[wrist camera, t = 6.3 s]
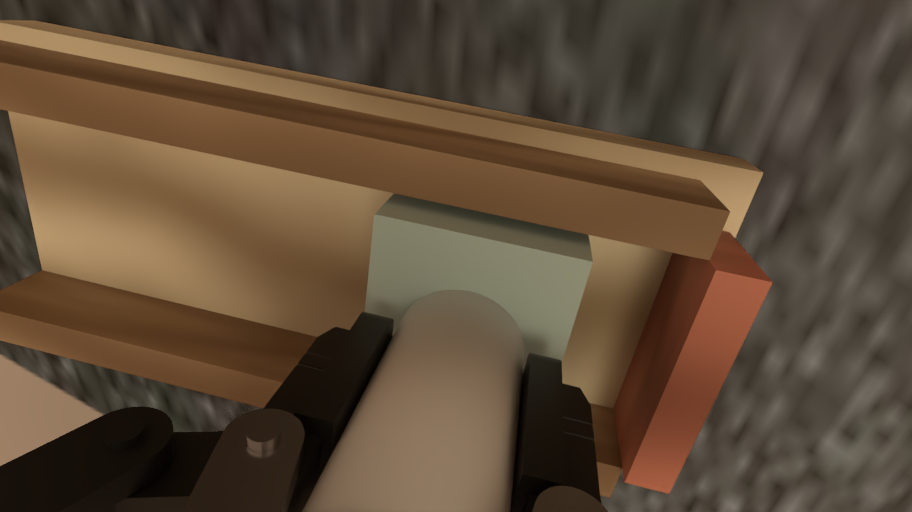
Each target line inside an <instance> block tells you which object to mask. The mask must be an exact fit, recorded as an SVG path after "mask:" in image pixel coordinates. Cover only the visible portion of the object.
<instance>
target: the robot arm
mask: <svg viewBox="0 0 912 512" xmlns="http://www.w3.org/2000/svg"><path fill="white" fill-rule="evenodd" d="M393 327H394V320H393V319H392V318H388V317H384V316H380V315H376V314H372V313H368V312H364V311H363V312H362V313H361V314H360V315H359V317H358V318H357V320H356V321H355V323H354V324H353V326H352V327H351V329H350V330H347V329H343V328H339V327H334V328H332V329H330V330H329V331H327V332H325V333H323V334H322V335H320V336H318V337H317V338H316V340H315V341H314V342H313V344H312V345H311V346H310V348H309V349H308V350H307V353H306V354H304V355H303V357H302V358H301V359H300V361H299V362H298V365H296V366H295V367H294V369H293V370H292V371H291V373H290V374H289V375H288V377H287V378H286V379H285V381H284V382H283V383H282V384H281V386H280V387H279V388H278V390H277V391H276V392H275V394H274V395H273V396H272V398H271V399H270V400H269V402H268V403H267V404H266V406H265V407H264V408H263V409H258V410H254V411H250V412H247V413H245V414H243V415H241V416H239V417H237V418H236V419H234V420H233V421H232V422H231V423H230V424H229V425H228V426H227V427H226V428H225V430H224V431H218V432H173V425H172V421H171V419H170V418H169V417H168V416H167V414H165V413H164V412H162V411H160V410H158V409H154V408H150V407H130V408H124V409H120V410H116V411H113V412H110V413H108V414H106V415H103V416H101V417H99V418H97V419H95V420H93V421H91V422H89V423H87V424H85V425H83V426H81V427H79V428H77V429H75V430H73V431H71V432H69V433H67V434H65V435H63V436H61V437H59V438H57V439H55V440H53V441H51V442H48V443H46V444H44V445H42V446H40V447H39V448H36V449H35V450H32V451H30V452H28V453H26V454H24V455H22V456H20V457H18V458H16V459H14V460H12V461H10V462H8V463H6V464H4V465H2V466H0V512H302V510H303V508H304V507H305V505H306V503H307V501H308V499H309V497H310V495H311V493H312V491H313V489H314V487H315V485H316V483H317V481H318V479H319V478H320V476H321V474H322V472H323V470H324V468H325V466H326V464H327V462H328V460H329V458H330V456H331V454H332V452H333V451H334V449H335V447H336V445H337V443H338V441H339V439H340V437H341V435H342V433H343V431H344V429H345V427H346V425H347V423H348V422H349V420H350V418H351V416H352V414H353V412H354V410H355V408H356V406H357V404H358V402H359V400H360V398H361V396H362V395H363V393H364V391H365V389H366V387H367V385H368V383H369V381H370V379H371V377H372V375H373V373H374V371H375V369H376V367H377V366H378V364H379V362H380V360H381V358H382V356H383V354H384V352H385V350H386V348H387V346H388V344H389V342H390V340H391V338H392V334H393ZM592 425H593V421H592V411H591V405H590V403H589V402H588V400H587V398H586V397H585V395H584V393H583V392H582V390H581V388H579V387H575V386H571V385H567V384H563V383H562V362H561V360H558V359H554V358H550V357H546V356H542V355H538V354H534V353H529V355H528V358H527V361H526V364H525V368H524V371H523V377H522V388H521V400H520V411H519V422H518V434H517V445H516V457H515V468H514V480H513V491H512V503H511V512H608V511H607V510H606V509H605V507H604V506H603V505H602V504H601V499H600V490H599V480H598V470H597V460H596V450H595V442H594V431H593V427H592Z"/></svg>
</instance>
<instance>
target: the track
mask: <svg viewBox="0 0 912 512" xmlns="http://www.w3.org/2000/svg"><path fill="white" fill-rule="evenodd" d="M0 109H2V110H6V111H8V113H9V117H10V122H11V127H12V131H13V136H14V141H15V145H16V150H17V155H18V159H19V164H20V169H21V173H22V178H23V183H24V187H25V192H26V197H27V201H28V206H29V211H30V215H31V220H32V225H33V229H34V234H35V239H36V243H37V248H38V253H39V257H40V262H41V267H42V271H40V272H38V273H35V274H33V275H31V276H29V277H27V278H25V279H23V280H21V281H19V282H17V283H15V284H12V285H10V286H8V287H6V288H4V289H2V290H0V340H1V341H5V342H9V343H12V344H16V345H20V346H24V347H28V348H32V349H36V350H40V351H43V352H47V353H51V354H55V355H59V356H63V357H67V358H71V359H74V360H78V361H82V362H86V363H90V364H94V365H98V366H102V367H106V368H109V369H113V370H117V371H121V372H125V373H129V374H133V375H137V376H140V377H144V378H148V379H152V380H156V381H160V382H164V383H168V384H171V385H175V386H179V387H183V388H187V389H191V390H195V391H199V392H203V393H206V394H210V395H214V396H218V397H222V398H226V399H230V400H234V401H237V402H241V403H245V404H249V405H253V406H257V407H261V408H264V407H265V406H266V404H267V403H268V402H269V400H270V399H271V398H272V396H273V395H274V394H275V392H276V391H277V390H278V388H279V387H280V386H281V384H282V383H283V382H284V381H285V379H286V378H287V377H288V375H289V374H290V373H291V371H292V370H293V369H294V367H295V366H296V365H298V362H299V361H300V359H301V358H302V357H303V355H304V354H306V353H307V350H308V349H309V348H310V346H311V345H312V344H313V342H314V341H315V340H316V338H317V337H318V336H320V335H322V334H323V333H325V332H327V331H329V330H330V329H332V328H334V327H339V328H343V329H347V330H350V329H351V327H352V326H353V324H354V323H355V321H356V320H357V318H358V317H359V315H360V314H361V313H362V312H363V311H364V312H365V303H366V293H367V283H368V273H369V263H370V252H371V242H372V232H373V222H374V214H375V213H376V212H377V211H378V210H379V209H380V208H381V207H382V205H383V204H384V203H385V202H386V201H387V200H388V199H389V198H390V197H391V196H392V195H393V194H394V193H395V194H400V195H404V196H409V197H414V198H418V199H423V200H428V201H433V202H437V203H442V204H447V205H451V206H456V207H461V208H465V209H470V210H475V211H479V212H484V213H489V214H493V215H498V216H503V217H507V218H512V219H517V220H522V221H526V222H531V223H536V224H540V225H545V226H550V227H554V228H559V229H564V230H568V231H573V232H578V233H582V234H587V235H589V241H590V247H591V253H592V259H593V264H592V267H591V270H590V273H589V276H588V280H587V283H586V286H585V289H584V293H583V296H582V299H581V302H580V305H579V309H578V312H577V315H576V318H575V322H574V325H573V328H572V331H571V335H570V338H569V341H568V344H567V347H566V351H565V354H564V357H563V360H562V383H563V384H567V385H571V386H575V387H579V388H581V390H582V392H583V393H584V395H585V397H586V398H587V400H588V402H589V403H590V405H591V411H592V421H593V425H592V427H593V431H594V442H595V450H596V460H597V470H598V480H599V490H600V495H602V496H606V497H611V495H612V492H613V490H614V487H615V485H616V483H617V480H618V478H619V475H620V473H621V471H622V468H623V475H624V481H625V483H629V484H633V485H636V486H640V487H644V488H648V489H652V490H656V491H660V492H664V493H668V494H669V493H670V491H671V489H672V487H673V485H674V483H675V481H676V479H677V477H678V475H679V473H680V471H681V469H682V467H683V465H684V463H685V460H686V458H687V456H688V454H689V452H690V450H691V448H692V446H693V444H694V442H695V440H696V438H697V436H698V434H699V432H700V430H701V428H702V426H703V424H704V422H705V420H706V418H707V416H708V413H709V411H710V409H711V407H712V405H713V403H714V401H715V399H716V397H717V395H718V393H719V391H720V389H721V387H722V385H723V383H724V381H725V379H726V377H727V375H728V373H729V371H730V369H731V367H732V364H733V362H734V360H735V358H736V356H737V354H738V352H739V350H740V348H741V346H742V344H743V342H744V340H745V338H746V336H747V334H748V332H749V330H750V328H751V326H752V324H753V322H754V320H755V318H756V315H757V313H758V311H759V309H760V307H761V305H762V303H763V301H764V299H765V297H766V295H767V293H768V291H769V289H770V287H771V285H772V283H773V282H772V281H771V280H770V279H769V277H768V276H767V275H766V274H765V273H764V272H763V270H762V269H761V268H760V267H759V266H758V265H757V263H756V262H755V261H754V260H753V259H752V258H751V256H750V255H749V254H748V253H747V252H746V251H745V249H744V248H743V247H742V246H741V245H740V244H739V243H738V241H737V240H736V239H735V237H736V235H737V233H738V230H739V228H740V226H741V224H742V221H743V219H744V217H745V214H746V212H747V210H748V207H749V205H750V203H751V201H752V198H753V196H754V194H755V191H756V189H757V187H758V184H759V182H760V180H761V178H762V175H763V172H762V171H760V170H759V169H758V168H756V167H755V166H753V165H752V164H750V163H749V162H747V161H746V160H745V159H742V158H736V157H731V156H726V155H721V154H716V153H711V152H706V151H701V150H696V149H690V148H685V147H680V146H675V145H670V144H665V143H660V142H655V141H649V140H644V139H639V138H634V137H629V136H624V135H619V134H614V133H608V132H603V131H598V130H593V129H588V128H583V127H578V126H573V125H568V124H562V123H557V122H552V121H547V120H542V119H537V118H532V117H527V116H521V115H516V114H511V113H506V112H501V111H496V110H491V109H486V108H480V107H475V106H470V105H465V104H460V103H455V102H450V101H445V100H440V99H434V98H429V97H424V96H419V95H414V94H409V93H404V92H399V91H393V90H388V89H383V88H378V87H373V86H368V85H363V84H358V83H352V82H347V81H342V80H337V79H332V78H327V77H322V76H317V75H312V74H306V73H301V72H296V71H291V70H286V69H281V68H276V67H271V66H265V65H260V64H255V63H250V62H245V61H240V60H235V59H230V58H224V57H219V56H214V55H209V54H204V53H199V52H194V51H189V50H184V49H178V48H173V47H168V46H163V45H158V44H153V43H148V42H143V41H137V40H132V39H127V38H122V37H117V36H112V35H107V34H102V33H97V32H91V31H86V30H81V29H76V28H71V27H66V26H61V25H56V24H50V23H45V22H40V21H28V20H0Z"/></svg>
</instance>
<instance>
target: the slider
mask: <svg viewBox="0 0 912 512" xmlns="http://www.w3.org/2000/svg"><path fill="white" fill-rule="evenodd" d="M592 264H593V259H592V253H591V247H590V241H589V235H587V234H582V233H578V232H573V231H568V230H564V229H559V228H554V227H550V226H545V225H540V224H536V223H531V222H526V221H522V220H517V219H512V218H507V217H503V216H498V215H493V214H489V213H484V212H479V211H475V210H470V209H465V208H461V207H456V206H451V205H447V204H442V203H437V202H433V201H428V200H423V199H418V198H414V197H409V196H404V195H400V194H395V193H394V194H393V195H392V196H391V197H390V198H389V199H388V200H387V201H386V202H385V203H384V204H383V205H382V207H381V208H380V209H379V210H378V211H377V212H376V213H375V214H374V222H373V232H372V242H371V252H370V263H369V273H368V283H367V293H366V303H365V312H368V313H372V314H376V315H380V316H384V317H388V318H392V319H393V320H394V327H393V334H392V338H391V340H390V342H389V344H388V346H387V348H386V350H385V352H384V354H383V356H382V358H381V360H380V362H379V364H378V366H377V367H376V369H375V371H374V373H373V375H372V377H371V379H370V381H369V383H368V385H367V387H366V389H365V391H364V393H363V395H362V396H361V398H360V400H359V402H358V404H357V406H356V408H355V410H354V412H353V414H352V416H351V418H350V420H349V422H348V423H347V425H346V427H345V429H344V431H343V433H342V435H341V437H340V439H339V441H338V443H337V445H336V447H335V449H334V451H333V452H332V454H331V456H330V458H329V460H328V462H327V464H326V466H325V468H324V470H323V472H322V474H321V476H320V478H319V479H318V481H317V483H316V485H315V487H314V489H313V491H312V493H311V495H310V497H309V499H308V501H307V503H306V505H305V507H304V508H303V510H302V512H511V503H512V491H513V480H514V468H515V457H516V445H517V434H518V422H519V411H520V400H521V388H522V377H523V371H524V368H525V364H526V361H527V358H528V355H529V353H534V354H538V355H542V356H546V357H550V358H554V359H558V360H561V362H562V360H563V357H564V354H565V351H566V347H567V344H568V341H569V338H570V335H571V331H572V328H573V325H574V322H575V318H576V315H577V312H578V309H579V305H580V302H581V299H582V296H583V293H584V289H585V286H586V283H587V280H588V276H589V273H590V270H591V267H592Z"/></svg>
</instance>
